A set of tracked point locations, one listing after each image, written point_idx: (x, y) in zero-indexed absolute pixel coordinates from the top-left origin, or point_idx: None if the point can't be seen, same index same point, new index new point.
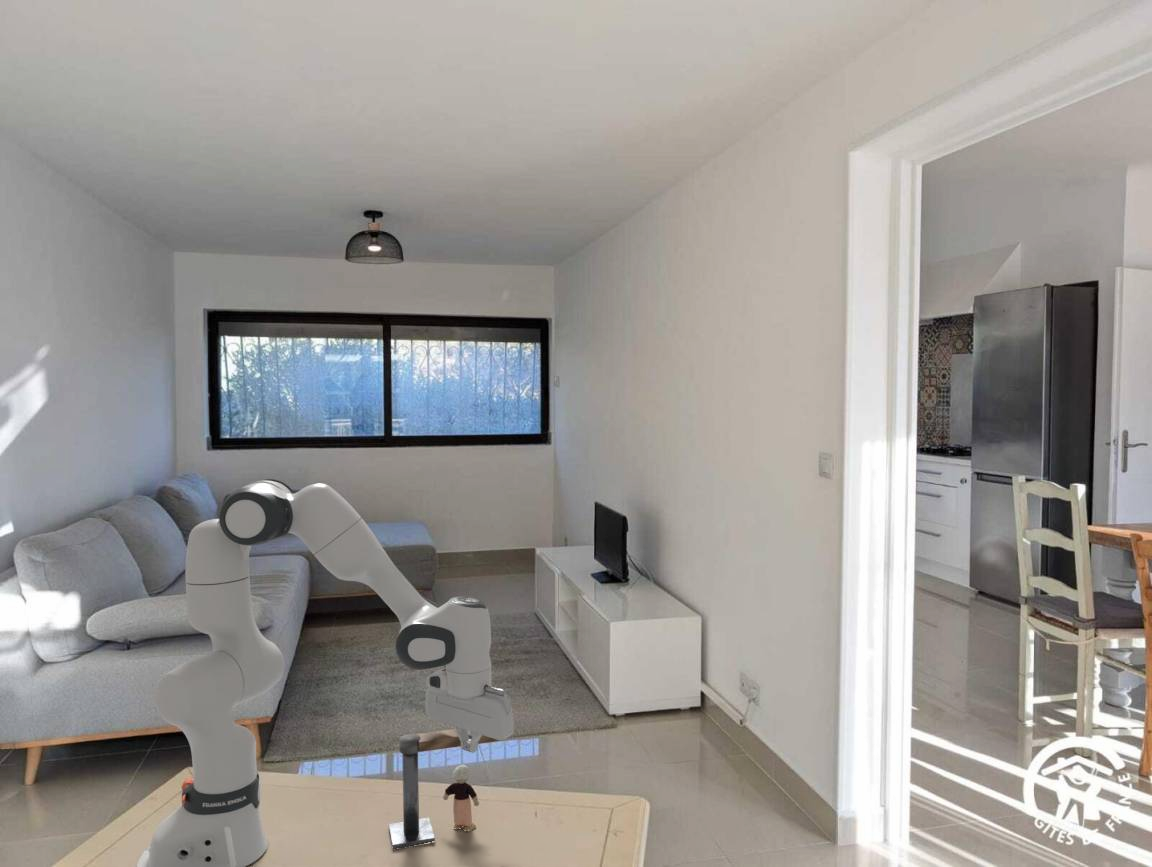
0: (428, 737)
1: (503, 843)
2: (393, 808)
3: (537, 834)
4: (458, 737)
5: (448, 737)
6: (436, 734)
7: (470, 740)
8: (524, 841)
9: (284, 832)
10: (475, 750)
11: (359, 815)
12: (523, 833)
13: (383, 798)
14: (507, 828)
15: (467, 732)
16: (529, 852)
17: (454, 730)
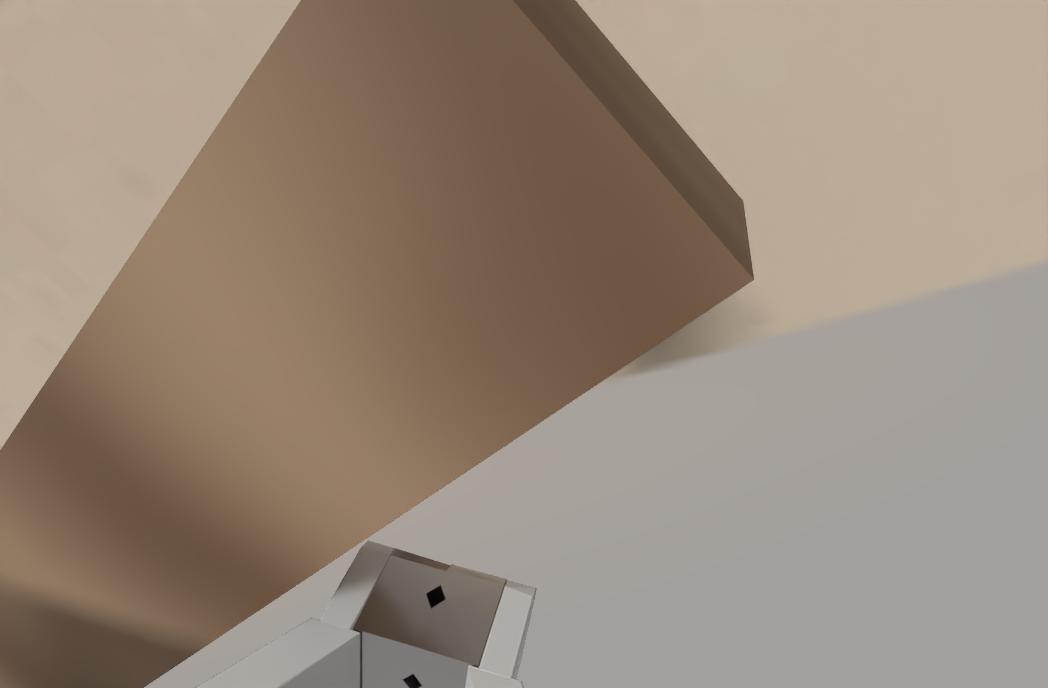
0: (18, 679)
1: (788, 211)
2: (115, 135)
3: (976, 40)
4: (230, 626)
5: (154, 658)
6: (3, 620)
7: (408, 663)
8: (907, 149)
9: (13, 413)
10: (530, 616)
11: (71, 243)
12: (873, 69)
13: (4, 71)
14: (749, 59)
15: (211, 519)
16: (971, 238)
17: (36, 503)
